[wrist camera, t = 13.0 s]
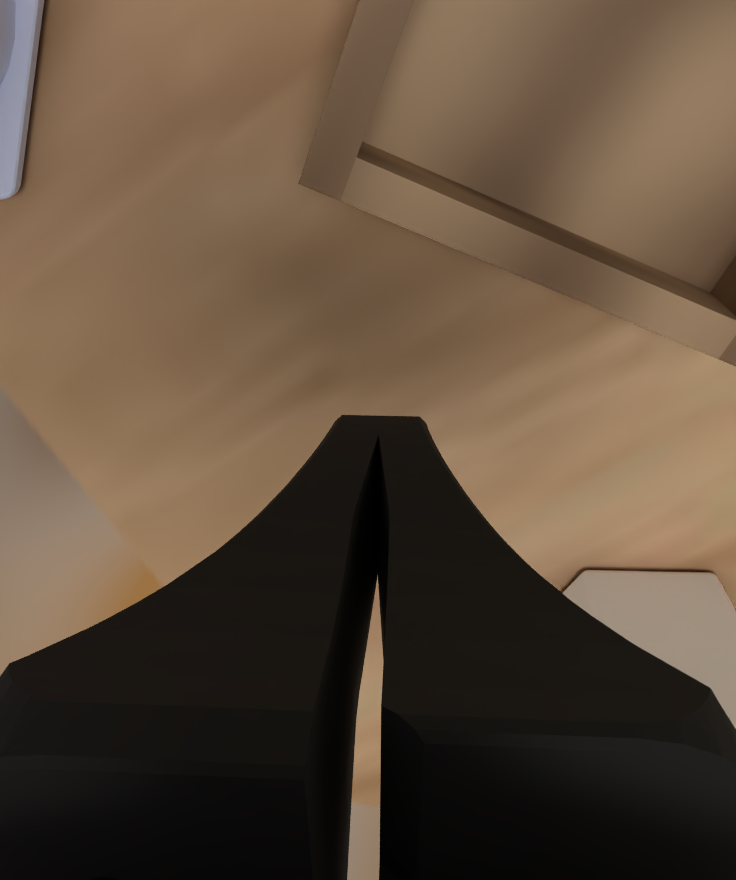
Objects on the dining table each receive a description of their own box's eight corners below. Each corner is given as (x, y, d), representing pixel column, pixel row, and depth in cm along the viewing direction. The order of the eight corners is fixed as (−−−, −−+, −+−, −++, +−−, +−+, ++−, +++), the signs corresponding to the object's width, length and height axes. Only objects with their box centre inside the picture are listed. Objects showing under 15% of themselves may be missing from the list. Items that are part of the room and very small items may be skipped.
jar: (770, 681, 28) (984, 1077, 17) (573, 741, 30) (659, 1119, 20) (699, 522, 24) (921, 910, 14) (480, 606, 26) (528, 988, 16)
